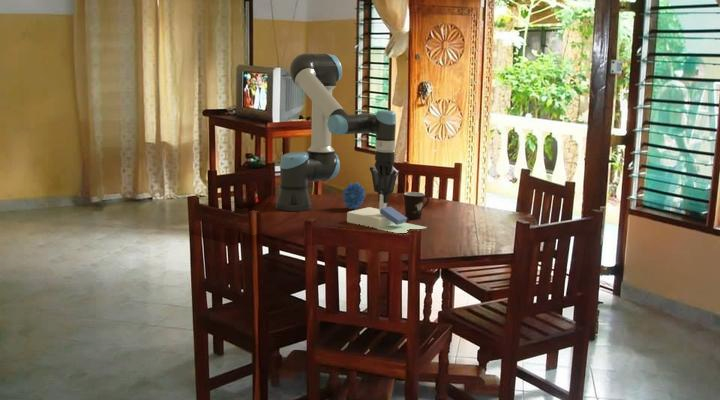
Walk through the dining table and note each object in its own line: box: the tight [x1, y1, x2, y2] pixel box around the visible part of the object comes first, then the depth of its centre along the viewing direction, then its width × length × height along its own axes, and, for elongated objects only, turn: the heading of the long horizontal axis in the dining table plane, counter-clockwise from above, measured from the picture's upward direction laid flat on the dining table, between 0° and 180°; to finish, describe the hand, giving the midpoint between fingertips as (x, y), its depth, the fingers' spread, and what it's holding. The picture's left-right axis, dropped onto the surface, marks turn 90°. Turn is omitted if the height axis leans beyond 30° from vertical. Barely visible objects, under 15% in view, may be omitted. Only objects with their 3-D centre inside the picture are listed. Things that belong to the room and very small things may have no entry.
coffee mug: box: [403, 191, 430, 221], centre depth 316 cm, size 12×9×10 cm
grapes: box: [342, 182, 366, 211], centre depth 329 cm, size 12×7×12 cm, turn 53°
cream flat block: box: [346, 206, 395, 230], centre depth 306 cm, size 16×14×4 cm
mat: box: [377, 222, 428, 234], centre depth 298 cm, size 12×16×1 cm
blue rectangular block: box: [380, 206, 408, 225], centre depth 300 cm, size 9×6×2 cm, turn 52°
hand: (382, 210), depth 303 cm, fingers closed
